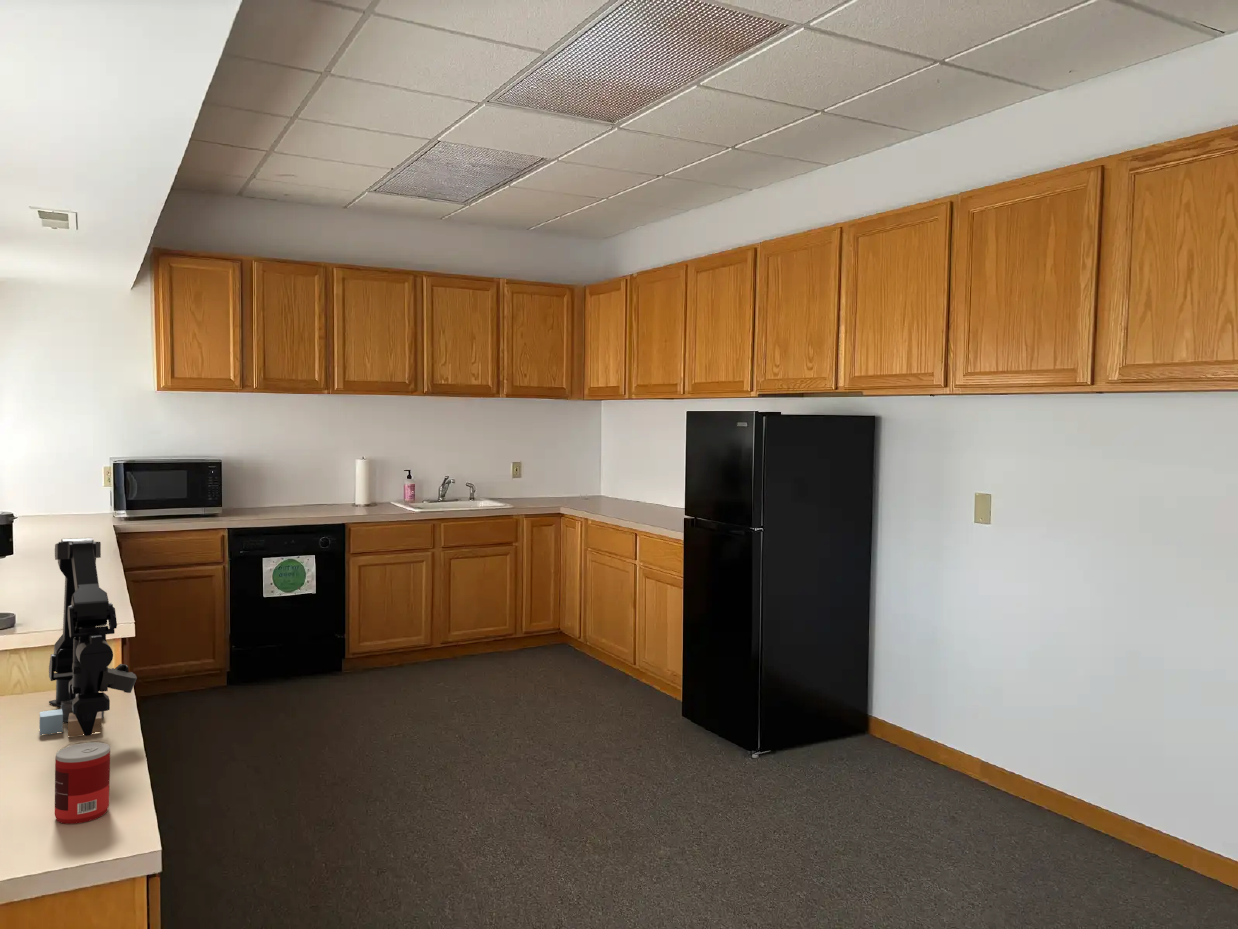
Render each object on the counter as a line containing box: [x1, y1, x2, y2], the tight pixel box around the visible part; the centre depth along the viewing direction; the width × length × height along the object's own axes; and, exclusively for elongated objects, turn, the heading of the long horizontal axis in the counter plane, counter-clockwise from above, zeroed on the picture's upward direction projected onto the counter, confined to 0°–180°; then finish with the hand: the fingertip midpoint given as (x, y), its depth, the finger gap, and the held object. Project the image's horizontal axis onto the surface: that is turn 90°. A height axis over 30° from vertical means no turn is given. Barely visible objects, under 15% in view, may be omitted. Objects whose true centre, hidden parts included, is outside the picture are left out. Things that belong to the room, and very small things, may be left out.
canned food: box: [54, 741, 111, 825], centre depth 149 cm, size 8×8×11 cm
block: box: [39, 708, 64, 736], centre depth 188 cm, size 4×4×4 cm
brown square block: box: [67, 712, 103, 737], centre depth 189 cm, size 6×6×4 cm
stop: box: [60, 700, 105, 724], centre depth 196 cm, size 3×8×4 cm, turn 124°
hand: (87, 735), depth 182 cm, fingers closed
